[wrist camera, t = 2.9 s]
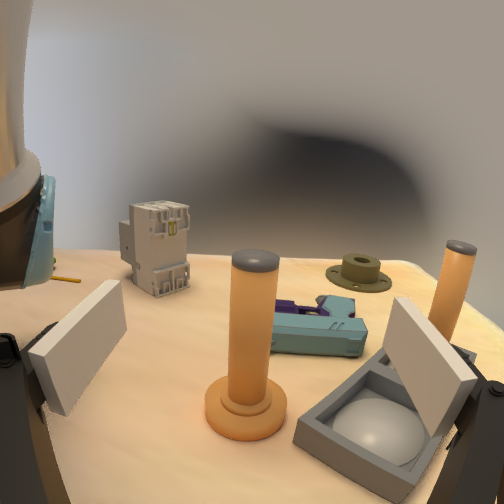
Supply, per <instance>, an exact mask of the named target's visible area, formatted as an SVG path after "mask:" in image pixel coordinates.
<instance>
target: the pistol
mask: <svg viewBox="0 0 504 504" xmlns="http://www.w3.org/2000/svg"><path fill="white" fill-rule="evenodd" d="M315 300H316V302H317V304H318V306H317V308H315V307H309V306H297V305H295V304H294V301H289V300H278V299H276V302H275V311H274V321H273V331H272V340H271V349H270V351H271V352H283V353H296V354H311V355H330V356H359V357H360V356H362V352H363V349H364V345H365V341H366V338H367V334H368V330H367V328H366V326H365V324H364V321H363V319H362V318H354V317H355V299H353V298H345V297H339V296H333V295H320V296H318V297H317V298H316V299H315Z"/></svg>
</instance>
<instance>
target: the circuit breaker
mask: <svg viewBox="0 0 504 504" xmlns="http://www.w3.org/2000/svg"><path fill="white" fill-rule="evenodd" d="M188 208H189V206H185V205H184V204H178V203H174V202H169V201H164V200H163V201H155V202H147V203H139V204H132V205H129V220H126V221H120V222H119V234H120V251H121V259H122V260H124V261H125V262H127V263H129V264H131V265H132V271H133V270H134V274H132V275H133V284H135V285H136V286H138V287H139V288H141V289H143V290H144V291H146V292H147V293H149V294H151V295H152V296H153V295H155V297H156V298H159V297H162V296H165V295H168V294H171V293H174V292H177V291H179V290H182V289H185V288H188V287H190V285H189V284H188V280H189V279H190V263H189V262H188V261H187V262H186V231H187V230H190V215H189V214H188ZM185 221H186V222H187V226H186V225H185ZM185 272H187V275H185ZM159 293H160V294H159Z"/></svg>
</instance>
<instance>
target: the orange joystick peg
mask: <svg viewBox="0 0 504 504" xmlns="http://www.w3.org/2000/svg"><path fill="white" fill-rule="evenodd" d="M279 260H280V258H279V256H278V255H276V254H274V253H272V252H269V251H264V250H255V249H248V250H240V251H236V252H234V253H233V254H232V267H231V293H230V322H229V356H228V376H225V377H222V378H220V379H218V380H216V381H215V382H214V383H213V384H211V385H210V387H209V388H208V389H207V391H206V394H205V413H206V418H207V421H208V423H209V424H210V426H211V427H212V428H213V429H214V430H215V431H216V432H218V433H219V434H221V435H223V436H225V437H227V438H230V439H233V440H238V441H255V440H260V439H263V438H266V437H268V436H270V435H272V434H274V433H275V432H276V431H277V430H278V429H279V428H280V427H281V425H282V423H283V421H284V417H285V411H286V406H287V398H286V395H285V393H284V391H283V390H282V388H281V387H280V386H279V385H278V384H276V383H275V382H273V381H272V380H270V379H268V378H267V375H268V367H269V358H270V349H271V340H272V331H273V321H274V311H275V302H276V292H277V281H278V271H279Z"/></svg>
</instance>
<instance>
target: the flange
mask: <svg viewBox="0 0 504 504" xmlns="http://www.w3.org/2000/svg"><path fill="white" fill-rule="evenodd" d="M380 265H381V262H380V261H379V260H377V259H375V258H373V257H369V256H366V255H360V254H348V255H345V256H343V261H342V265H336V266H332V267H330V268H328V269H327V270H326V277H327V279H328V280H329V281H330V282H332V283H333V284H335V285H337V286H339V287H342V288H345V289H348V290H352V291H357V292H364V293H378V292H383V291H386V290H388V289H390V287H391V284H392V281H391V279H390V278H389V277H388V276H387V275H385V274H384V273H382V272H380V271H379V270H380ZM332 272H335V273H332ZM383 282H385V283H383ZM354 286H358V287H354Z"/></svg>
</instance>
